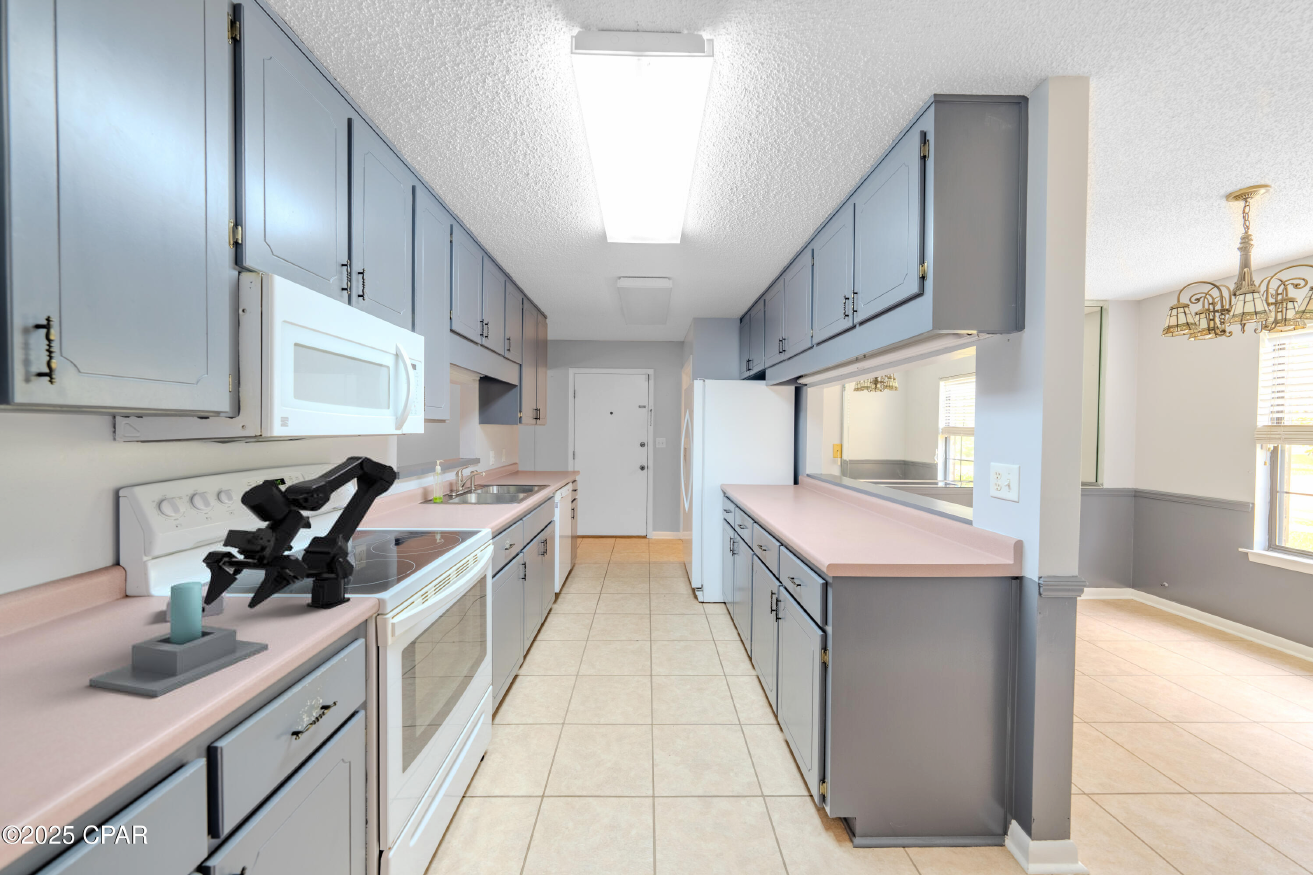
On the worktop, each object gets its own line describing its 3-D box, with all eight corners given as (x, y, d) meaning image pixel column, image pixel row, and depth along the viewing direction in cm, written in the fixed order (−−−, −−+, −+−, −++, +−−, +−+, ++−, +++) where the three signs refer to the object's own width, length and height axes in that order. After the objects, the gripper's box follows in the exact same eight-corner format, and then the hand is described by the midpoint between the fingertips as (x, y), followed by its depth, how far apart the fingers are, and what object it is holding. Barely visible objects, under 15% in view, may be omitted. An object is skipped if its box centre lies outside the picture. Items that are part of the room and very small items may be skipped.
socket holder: (208, 641, 101) (208, 615, 100) (267, 649, 98) (268, 622, 97) (89, 685, 83) (89, 653, 83) (157, 696, 80) (157, 664, 80)
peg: (177, 656, 91) (178, 582, 91) (205, 653, 93) (206, 580, 93) (165, 666, 88) (165, 589, 87) (194, 663, 89) (195, 587, 89)
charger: (227, 596, 127) (223, 614, 115) (175, 603, 121) (166, 623, 109) (227, 577, 127) (223, 593, 115) (176, 583, 121) (166, 600, 109)
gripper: (211, 510, 104) (151, 581, 93) (296, 514, 101) (244, 588, 91) (247, 541, 112) (195, 610, 101) (326, 545, 109) (282, 616, 99)
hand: (227, 605), depth 98 cm, fingers open, 9 cm apart
